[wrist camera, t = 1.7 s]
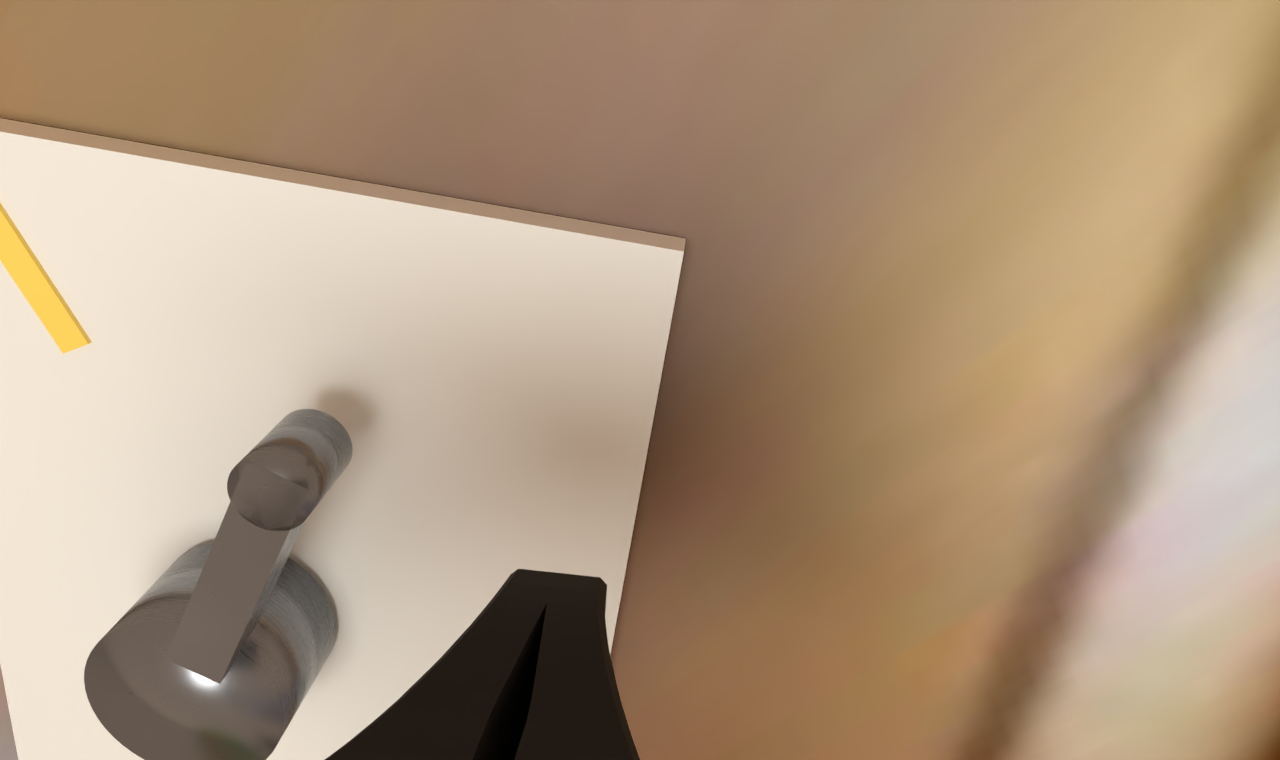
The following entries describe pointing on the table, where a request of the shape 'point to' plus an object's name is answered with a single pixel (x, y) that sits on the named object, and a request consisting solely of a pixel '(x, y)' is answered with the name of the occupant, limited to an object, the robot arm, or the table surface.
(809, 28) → the table surface
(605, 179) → the table surface
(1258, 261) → the table surface
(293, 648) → the grey crank handle
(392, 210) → the white paper sheet
